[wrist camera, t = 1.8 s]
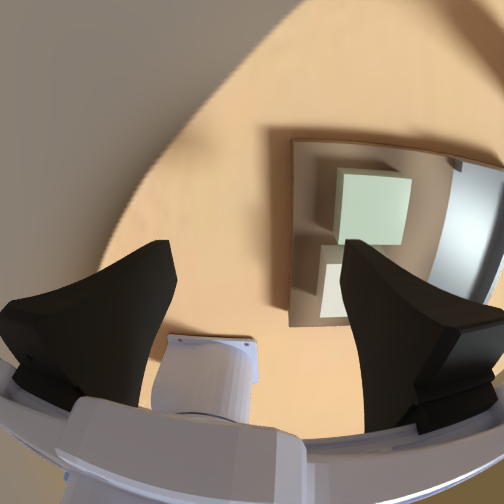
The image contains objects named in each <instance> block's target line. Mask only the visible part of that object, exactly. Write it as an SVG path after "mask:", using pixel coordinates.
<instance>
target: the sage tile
mask: <svg viewBox="0 0 504 504" xmlns="http://www.w3.org/2000/svg"><path fill="white" fill-rule="evenodd" d="M411 184H412V179H411V178H409V177H408V176H406V175H404V174H403V173H401V172H395V171H384V170H372V169H357V168H339V167H337V182H336V198H335V212H334V224H333V234H334V236H335V239H336V241H337V243H338V245H345V239H360V240H362V241H364V242H366V243H367V244H369V245H401V242H402V237H403V232H404V227H405V222H406V216H407V210H408V204H409V198H410V191H411Z"/></svg>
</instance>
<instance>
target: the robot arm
mask: <svg viewBox="0 0 504 504" xmlns="http://www.w3.org/2000/svg"><path fill="white" fill-rule="evenodd" d="M177 281H178V280H177V276H176V271H175V267H174V262H173V257H172V253H171V248H170V243H169V240H155V241H153V242H150V243H148V244H146V245H144V246H143V247H141V248H139V249H137V250H136V251H134V252H132V253H131V254H129V255H127V256H126V257H124V258H122V259H120V260H119V261H117V262H115V263H113V264H112V265H110V266H108V267H106V268H105V269H103V270H101V271H99V272H97V273H95V274H93V275H91V276H89V277H87V278H85V279H83V280H80V281H78V282H75V283H73V284H70V285H68V286H65V287H62V288H60V289H57V290H54V291H51V292H47V293H44V294H40V295H36V296H32V297H28V298H22V299H17V300H12V301H10V302H9V303H8V304H7V305H6V306H5V307H4V308H3V309H2V310H1V312H0V336H1V338H2V339H3V341H4V342H5V344H6V345H7V347H8V348H9V350H10V351H11V352H12V354H13V355H14V356H15V358H16V359H17V360H18V362H19V363H20V365H19V367H18V368H17V369H16V368H15V367H14V366H13V365H11V364H10V363H8V362H6V361H4V360H3V359H1V358H0V427H1V428H3V429H4V430H5V431H6V432H7V433H9V434H10V435H11V436H12V437H14V438H15V439H17V440H18V441H19V442H20V443H22V444H23V445H25V446H26V447H27V448H29V449H30V450H32V451H33V452H35V453H36V454H38V455H39V456H41V457H43V458H44V459H46V460H47V461H49V462H51V463H52V464H54V465H56V466H58V467H59V468H61V469H63V470H64V471H66V472H68V473H70V475H69V477H68V480H67V483H66V486H65V489H64V492H63V496H62V499H61V502H60V504H410V503H413V502H415V501H418V500H421V499H424V498H426V497H429V496H432V495H434V494H437V493H439V492H441V491H443V490H446V489H448V488H450V487H453V486H455V485H457V484H459V483H461V482H463V481H465V480H467V479H469V478H471V477H473V476H475V475H477V474H478V473H480V472H482V471H484V470H485V469H487V468H489V467H491V466H492V465H494V464H496V463H497V462H499V461H500V460H502V459H503V458H504V382H503V383H501V384H500V385H498V386H497V387H496V388H493V386H492V383H491V382H492V381H493V380H494V378H495V375H494V373H493V371H492V368H493V367H494V365H495V364H496V363H497V361H498V360H499V359H500V357H501V356H502V354H503V353H504V311H503V310H502V309H500V308H496V307H492V306H488V305H484V304H480V303H477V302H474V301H471V300H468V299H465V298H462V297H459V296H456V295H454V294H451V293H449V292H447V291H444V290H442V289H440V288H438V287H436V286H433V285H431V284H429V283H428V282H426V281H424V280H422V279H420V278H418V277H417V276H415V275H413V274H411V273H410V272H408V271H407V270H405V269H404V268H402V267H400V266H399V265H397V264H396V263H394V262H393V261H391V260H390V259H389V258H387V257H386V256H384V255H383V254H381V253H380V252H379V251H377V250H376V249H374V248H373V247H372V246H370V245H369V244H367V243H366V242H364V241H362V240H360V239H345V245H344V253H343V260H342V267H341V273H340V280H339V283H340V289H341V294H342V300H343V304H344V307H345V310H346V313H347V316H348V320H349V323H350V326H351V329H352V332H353V336H354V339H355V342H356V346H357V351H358V356H359V362H360V369H361V377H362V386H363V398H364V424H365V432H364V434H357V435H350V436H341V437H331V438H319V439H300V438H299V437H297V436H296V435H293V434H290V433H287V432H285V431H282V430H279V429H276V428H274V427H265V426H257V425H250V424H249V414H250V403H251V392H252V384H257V383H258V382H259V377H258V357H257V342H256V340H254V339H238V338H215V337H199V336H186V335H174V334H169V335H168V337H167V340H168V346H167V348H166V351H165V353H164V356H163V359H162V361H161V364H160V367H159V369H158V372H157V375H156V378H155V380H154V383H153V387H152V393H151V408H152V411H148V410H144V409H140V408H138V403H139V397H140V391H141V386H142V381H143V377H144V372H145V368H146V364H147V361H148V357H149V353H150V350H151V347H152V344H153V341H154V339H155V337H156V334H157V332H158V330H159V328H160V325H161V323H162V321H163V319H164V316H165V314H166V312H167V310H168V308H169V305H170V303H171V301H172V298H173V295H174V292H175V288H176V284H177Z"/></svg>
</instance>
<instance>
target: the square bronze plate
mask: <svg viewBox="0 0 504 504" xmlns="http://www.w3.org/2000/svg"><path fill="white" fill-rule="evenodd" d="M291 144H292V213H291V258H290V285H289V307H288V317H289V327H323V326H347V325H350V323H349V320H348V317H323V318H320V316H319V310H318V305H317V299H316V291H317V282H318V273H319V263H320V252H321V245H338V243H337V241H336V239H335V236H334V234H333V224H334V212H335V198H336V182H337V167H339V168H357V169H372V170H384V171H395V172H401V173H403V174H404V175H406V176H408V177H409V178H411V179H412V184H411V191H410V198H409V204H408V210H407V216H406V222H405V227H404V232H403V237H402V242H401V245H380V246H381V247H382V249H383V250H384V252H385V253H386V255H387V256H388V258H389V259H390V260H391V261H393V262H394V263H396V264H397V265H399V266H400V267H402V268H404V269H405V270H407V271H408V272H410V273H411V274H413V275H415V276H417V277H418V278H420V279H422V280H424V281H426V282H428V279H429V276H430V273H431V270H432V267H433V264H434V260H435V257H436V253H437V250H438V246H439V242H440V239H441V235H442V231H443V227H444V222H445V218H446V213H447V208H448V203H449V198H450V192H451V186H452V180H453V173H454V165H455V158H453V157H450V156H448V155H445V154H443V153H439V152H433V151H428V150H422V149H415V148H409V147H402V146H394V145H386V144H377V143H368V142H356V141H343V140H324V139H291Z"/></svg>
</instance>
